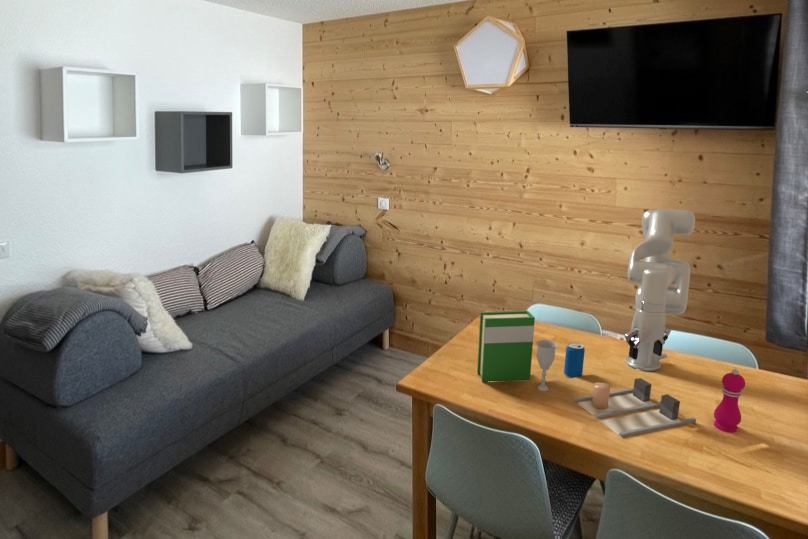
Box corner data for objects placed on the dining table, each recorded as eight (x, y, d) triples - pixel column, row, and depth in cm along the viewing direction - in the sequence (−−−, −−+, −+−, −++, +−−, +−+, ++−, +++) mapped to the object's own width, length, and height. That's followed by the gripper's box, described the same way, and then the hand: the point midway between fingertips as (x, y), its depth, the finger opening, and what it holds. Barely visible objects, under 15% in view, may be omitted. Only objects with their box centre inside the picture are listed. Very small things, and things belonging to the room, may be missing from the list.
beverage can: (582, 380, 200) (586, 349, 197) (564, 378, 201) (567, 347, 198) (580, 372, 206) (584, 342, 203) (563, 371, 208) (565, 341, 205)
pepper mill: (713, 420, 174) (723, 362, 169) (739, 428, 170) (750, 368, 165) (710, 431, 168) (720, 370, 163) (737, 438, 164) (749, 376, 159)
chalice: (529, 387, 194) (533, 339, 190) (548, 387, 195) (552, 339, 190) (536, 397, 187) (540, 348, 182) (555, 397, 188) (560, 347, 183)
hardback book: (482, 382, 198) (485, 319, 192) (477, 373, 205) (480, 312, 199) (529, 380, 200) (534, 317, 194) (523, 371, 207) (527, 310, 201)
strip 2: (662, 410, 178) (664, 391, 176) (681, 423, 171) (684, 403, 169) (600, 422, 170) (602, 403, 169) (617, 436, 163) (620, 416, 161)
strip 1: (635, 393, 189) (638, 375, 187) (653, 404, 182) (655, 386, 180) (576, 404, 181) (578, 385, 180) (591, 416, 174) (594, 397, 172)
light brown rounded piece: (601, 400, 183) (603, 381, 181) (611, 408, 178) (613, 388, 176) (588, 403, 181) (590, 383, 179) (598, 410, 176) (600, 390, 175)
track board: (640, 391, 192) (641, 385, 192) (696, 426, 170) (697, 419, 170) (572, 403, 183) (573, 397, 183) (622, 442, 162) (623, 435, 161)
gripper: (664, 300, 183) (657, 349, 187) (621, 305, 177) (615, 354, 182) (682, 307, 176) (674, 357, 180) (637, 312, 170) (631, 364, 175)
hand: (645, 356), depth 181 cm, fingers open, 9 cm apart
